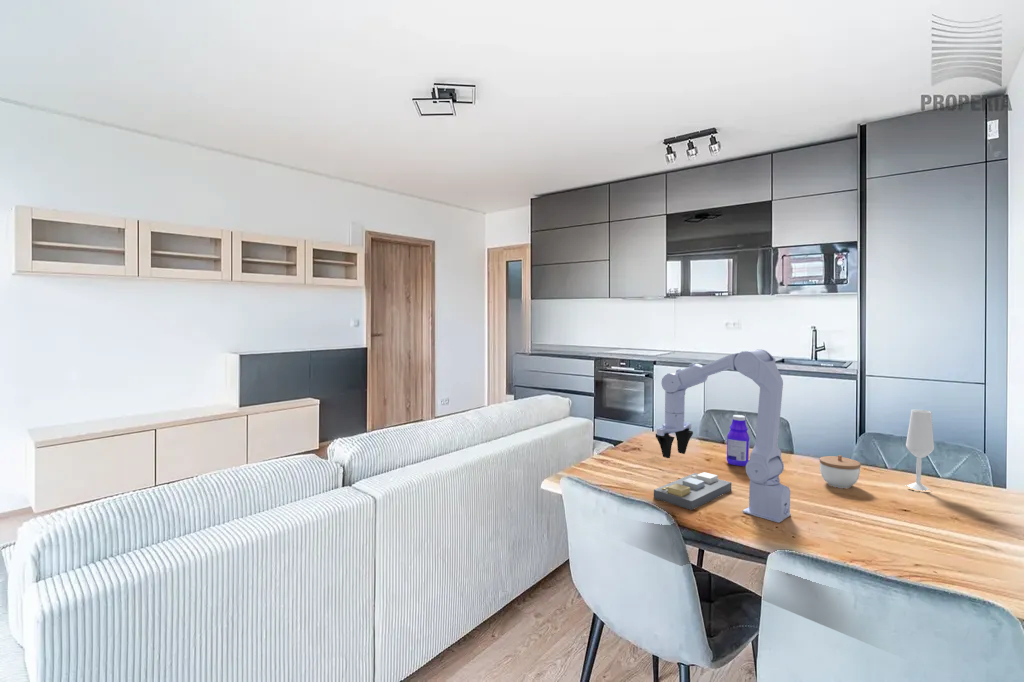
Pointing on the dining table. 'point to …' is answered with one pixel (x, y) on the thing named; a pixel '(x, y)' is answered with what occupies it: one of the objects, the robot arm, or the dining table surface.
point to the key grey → (693, 483)
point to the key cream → (707, 477)
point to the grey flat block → (693, 493)
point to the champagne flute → (920, 441)
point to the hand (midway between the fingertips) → (674, 455)
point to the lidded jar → (839, 471)
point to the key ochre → (679, 490)
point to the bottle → (738, 442)
